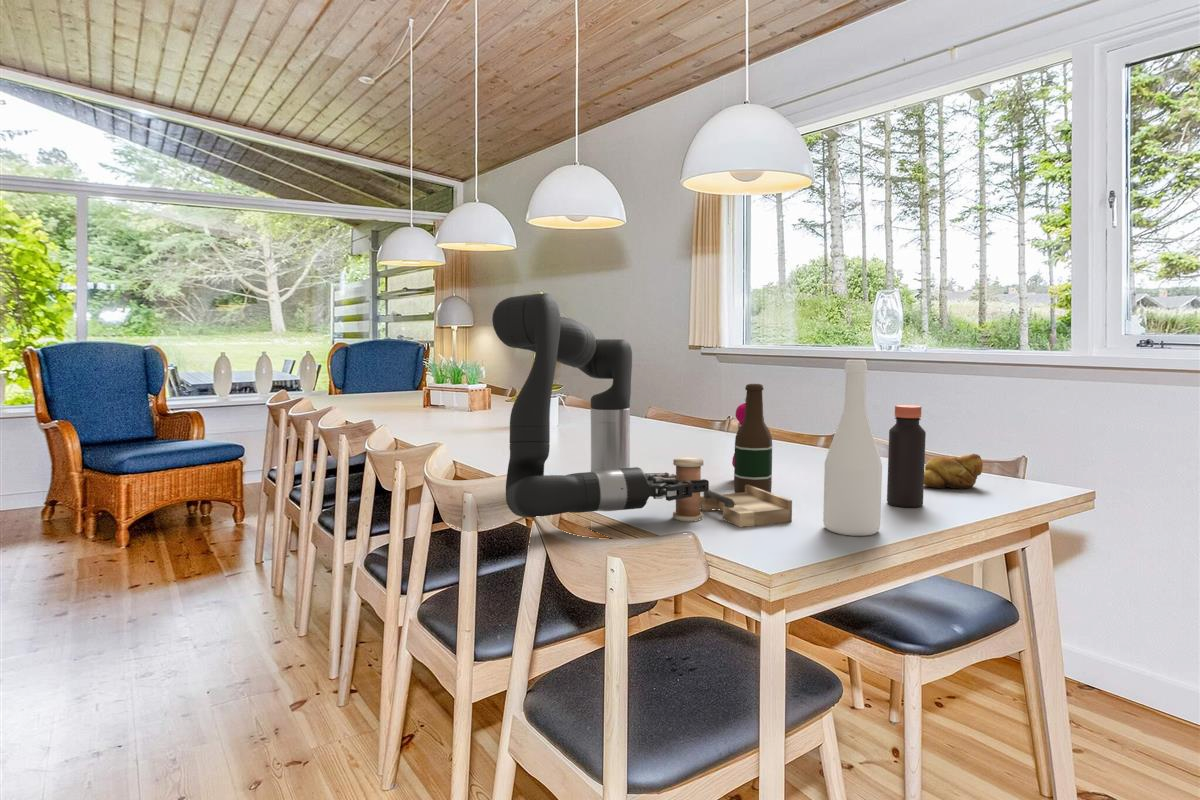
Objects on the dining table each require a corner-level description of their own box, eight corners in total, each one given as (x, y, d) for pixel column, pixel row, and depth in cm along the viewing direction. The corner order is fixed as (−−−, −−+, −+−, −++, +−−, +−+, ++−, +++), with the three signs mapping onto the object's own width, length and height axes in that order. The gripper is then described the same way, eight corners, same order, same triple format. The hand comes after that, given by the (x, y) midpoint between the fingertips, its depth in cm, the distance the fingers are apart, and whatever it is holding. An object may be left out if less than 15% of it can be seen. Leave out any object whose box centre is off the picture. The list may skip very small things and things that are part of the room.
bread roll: (929, 491, 162) (930, 455, 161) (909, 482, 171) (910, 448, 171) (986, 490, 162) (988, 454, 161) (963, 481, 172) (964, 447, 171)
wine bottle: (869, 523, 135) (874, 359, 132) (887, 537, 125) (893, 361, 122) (817, 522, 135) (821, 359, 132) (831, 537, 125) (836, 361, 123)
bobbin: (668, 515, 140) (668, 458, 139) (694, 513, 142) (694, 456, 141) (681, 522, 135) (681, 463, 134) (708, 519, 137) (708, 461, 136)
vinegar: (922, 509, 145) (926, 408, 143) (885, 506, 147) (888, 407, 146) (923, 502, 151) (926, 405, 149) (887, 499, 154) (891, 404, 152)
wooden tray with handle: (699, 508, 146) (700, 488, 145) (748, 504, 150) (748, 484, 149) (739, 527, 132) (740, 505, 131) (791, 521, 136) (792, 500, 135)
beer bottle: (754, 502, 151) (755, 386, 149) (726, 495, 157) (727, 383, 155) (779, 497, 156) (781, 384, 153) (751, 491, 162) (753, 382, 160)
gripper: (632, 476, 126) (720, 469, 132) (603, 462, 140) (684, 457, 146) (632, 519, 127) (719, 510, 133) (603, 501, 140) (683, 494, 146)
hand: (700, 482), depth 139 cm, fingers closed on bobbin, 4 cm apart
